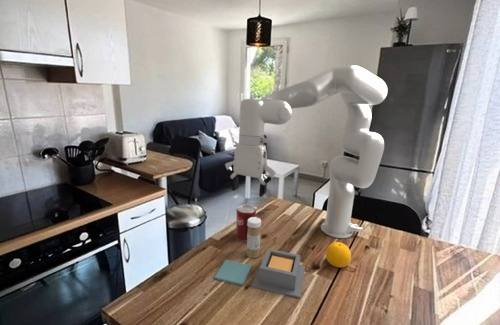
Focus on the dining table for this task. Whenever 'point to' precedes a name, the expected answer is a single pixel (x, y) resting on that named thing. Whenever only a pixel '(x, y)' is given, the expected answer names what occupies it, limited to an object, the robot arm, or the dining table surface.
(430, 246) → the dining table surface
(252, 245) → the sprinkles bottle
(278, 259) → the button
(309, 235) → the dining table surface
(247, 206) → the soda can
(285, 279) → the frame
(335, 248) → the orange citrus fruit
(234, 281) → the teal mat
